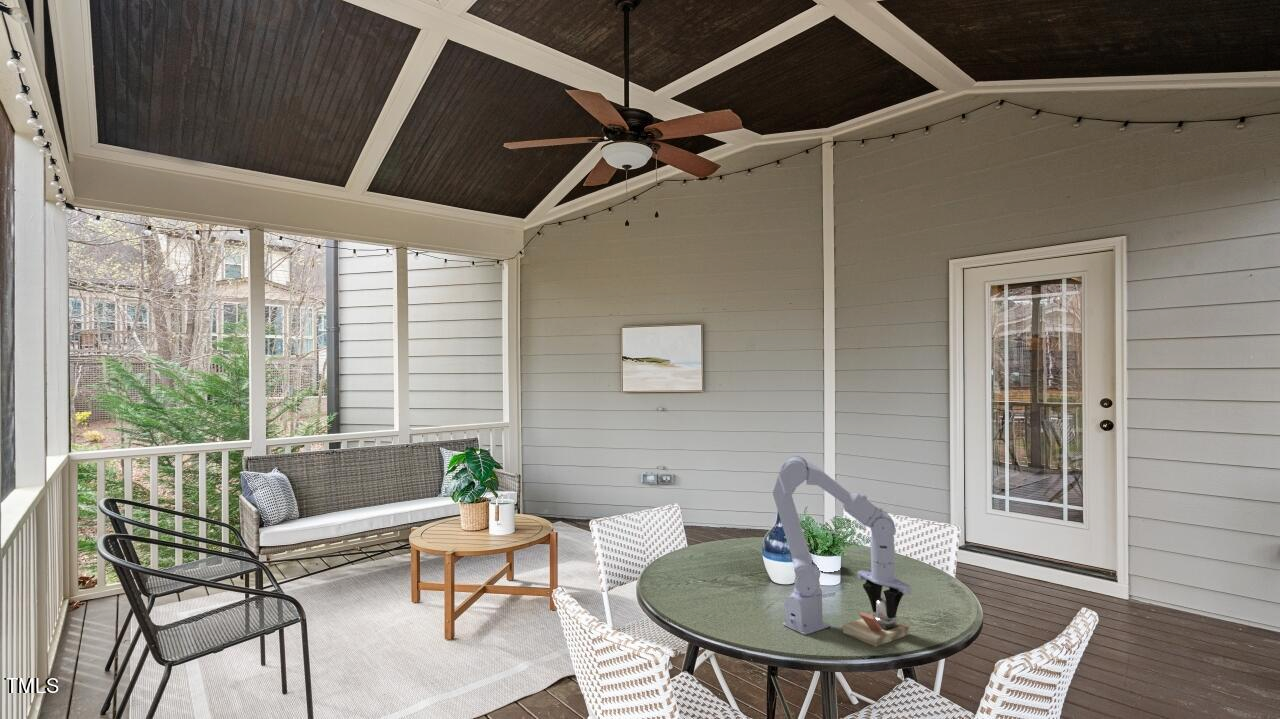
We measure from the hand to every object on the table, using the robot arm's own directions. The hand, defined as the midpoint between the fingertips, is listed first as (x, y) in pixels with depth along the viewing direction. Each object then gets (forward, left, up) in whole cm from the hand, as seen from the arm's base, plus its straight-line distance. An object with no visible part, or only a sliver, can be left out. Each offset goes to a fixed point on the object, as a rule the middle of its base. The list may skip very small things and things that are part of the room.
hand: (884, 614), depth 161 cm
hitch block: (-2, +1, -5) cm, 5 cm away
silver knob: (0, 0, -3) cm, 3 cm away
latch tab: (-5, 0, -1) cm, 5 cm away
